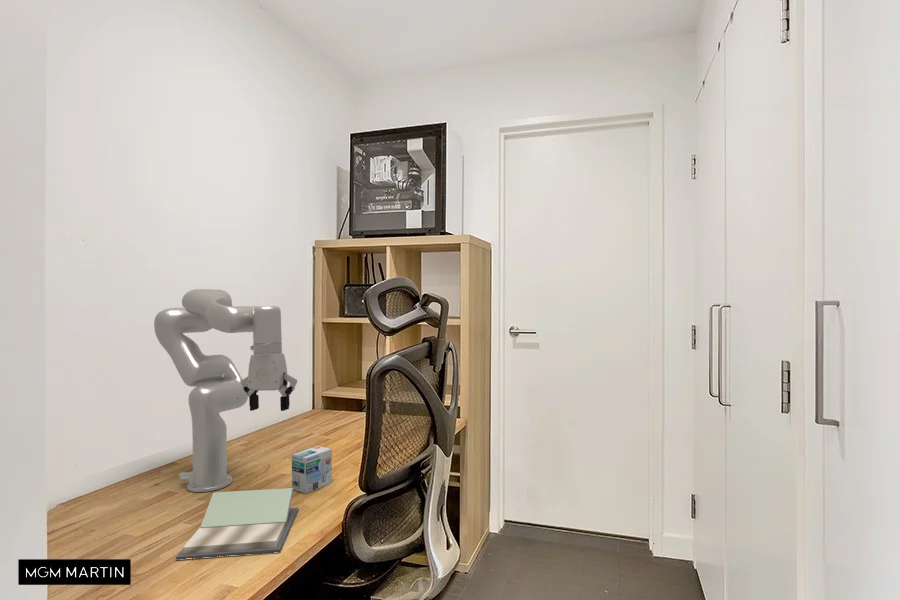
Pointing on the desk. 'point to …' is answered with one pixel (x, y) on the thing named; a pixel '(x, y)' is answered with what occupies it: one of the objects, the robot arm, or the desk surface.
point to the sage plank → (248, 508)
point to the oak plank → (234, 538)
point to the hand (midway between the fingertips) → (269, 409)
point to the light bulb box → (311, 469)
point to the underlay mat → (290, 521)
